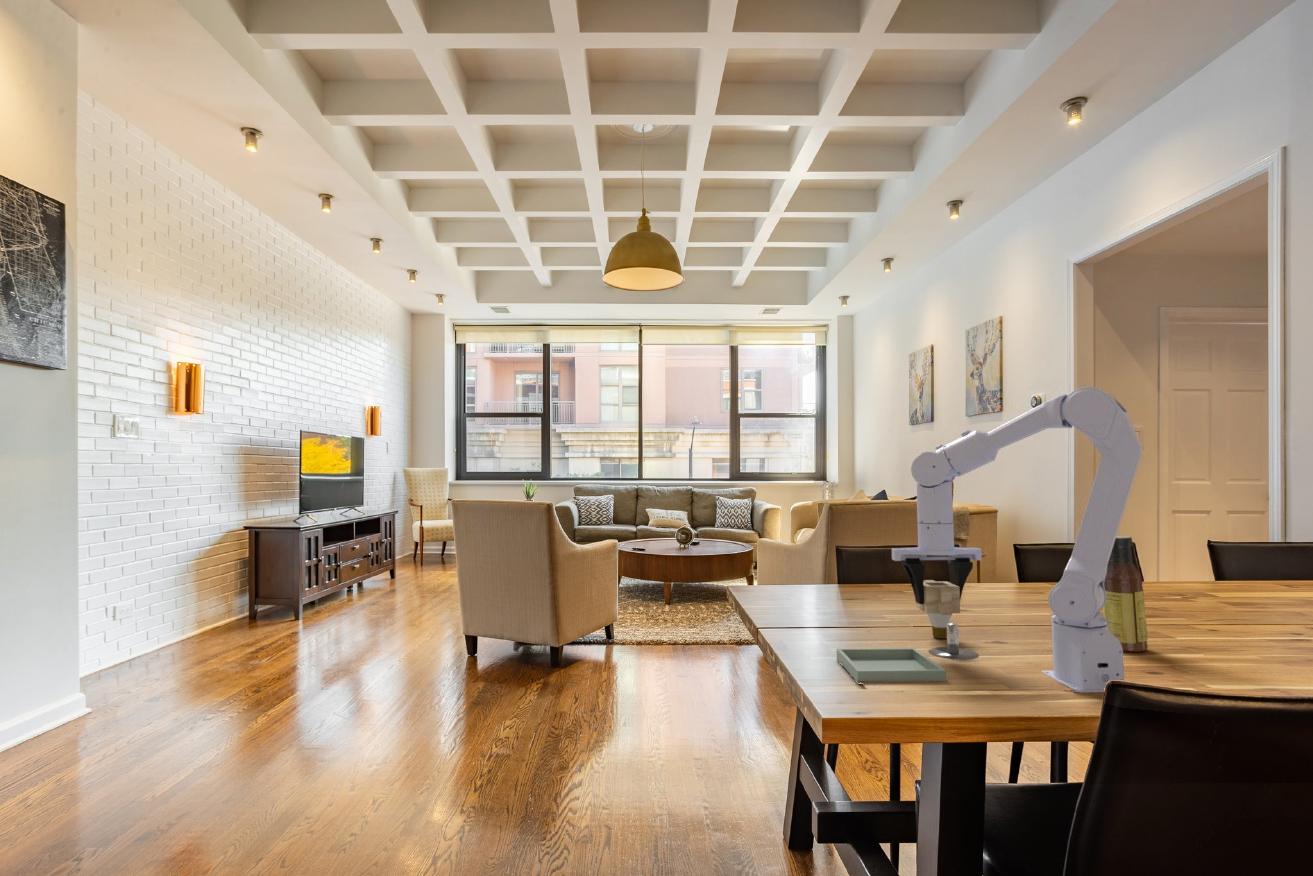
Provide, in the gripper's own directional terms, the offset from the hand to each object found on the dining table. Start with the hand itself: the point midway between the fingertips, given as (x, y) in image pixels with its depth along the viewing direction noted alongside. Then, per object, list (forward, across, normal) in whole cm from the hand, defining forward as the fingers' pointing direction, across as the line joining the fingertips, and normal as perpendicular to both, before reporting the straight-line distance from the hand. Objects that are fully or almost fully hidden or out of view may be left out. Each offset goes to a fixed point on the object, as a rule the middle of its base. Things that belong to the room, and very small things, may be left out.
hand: (937, 603), depth 118 cm
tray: (+9, +11, +7) cm, 16 cm away
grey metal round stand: (+9, -3, -2) cm, 10 cm away
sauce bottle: (+10, -35, -6) cm, 37 cm away
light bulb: (+10, -5, -13) cm, 17 cm away
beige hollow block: (+1, 0, 0) cm, 1 cm away
